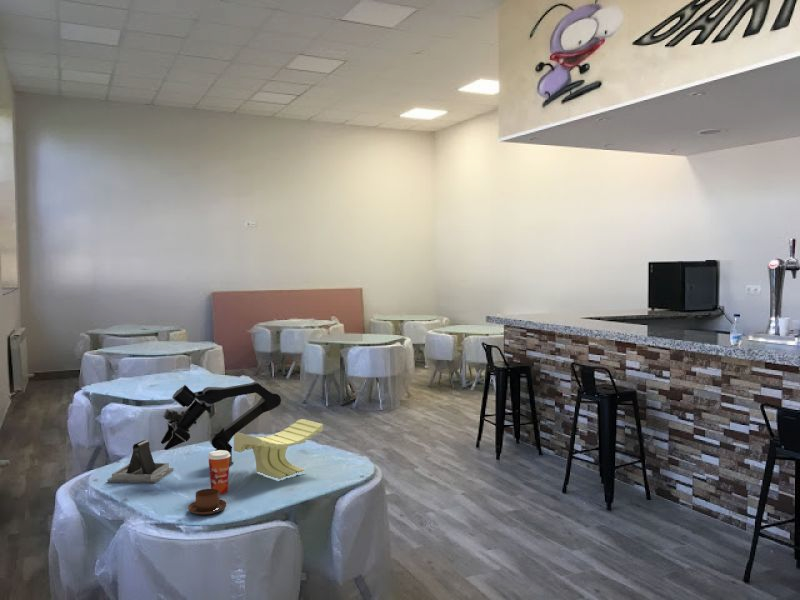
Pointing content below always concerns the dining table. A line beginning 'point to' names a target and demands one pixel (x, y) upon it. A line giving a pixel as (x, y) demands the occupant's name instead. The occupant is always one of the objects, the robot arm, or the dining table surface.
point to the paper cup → (219, 470)
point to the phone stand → (141, 459)
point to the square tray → (141, 475)
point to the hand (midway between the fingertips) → (163, 446)
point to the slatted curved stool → (277, 447)
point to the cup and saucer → (207, 502)
